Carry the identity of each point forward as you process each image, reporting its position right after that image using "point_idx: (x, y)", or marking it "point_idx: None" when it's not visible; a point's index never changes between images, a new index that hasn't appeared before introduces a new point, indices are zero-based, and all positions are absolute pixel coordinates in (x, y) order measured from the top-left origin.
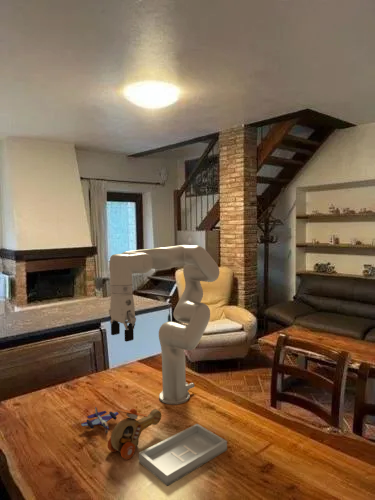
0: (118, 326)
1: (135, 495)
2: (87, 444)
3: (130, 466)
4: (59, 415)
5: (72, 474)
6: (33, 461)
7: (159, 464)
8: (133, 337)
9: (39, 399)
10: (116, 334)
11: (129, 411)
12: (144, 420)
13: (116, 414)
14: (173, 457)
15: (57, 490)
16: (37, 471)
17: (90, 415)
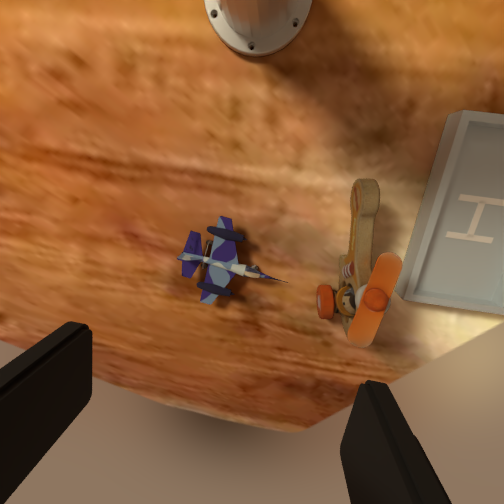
0: (21, 402)
1: (450, 350)
2: (259, 314)
3: None
4: (110, 288)
5: (314, 376)
6: (229, 392)
7: (446, 278)
8: (393, 398)
9: (4, 277)
10: (88, 353)
11: (370, 310)
12: (371, 249)
13: (230, 226)
14: (461, 244)
15: (327, 407)
16: (259, 401)
17: (183, 268)
